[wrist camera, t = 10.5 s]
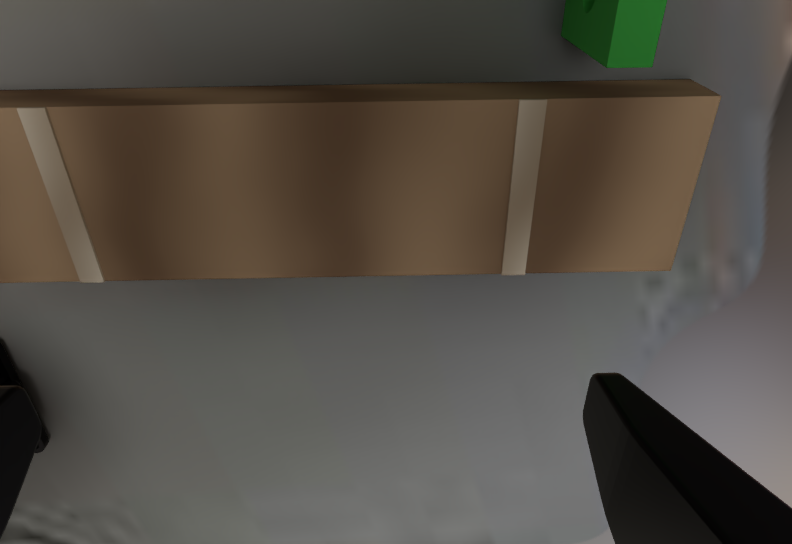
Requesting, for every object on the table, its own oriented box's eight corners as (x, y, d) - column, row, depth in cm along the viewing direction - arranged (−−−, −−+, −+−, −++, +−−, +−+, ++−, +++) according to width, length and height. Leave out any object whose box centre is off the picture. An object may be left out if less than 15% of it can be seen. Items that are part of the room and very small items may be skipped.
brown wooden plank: (9, 254, 21) (-25, 284, 20) (-61, 91, 18) (-110, 110, 16) (648, 242, 21) (672, 272, 20) (690, 79, 18) (722, 97, 16)
